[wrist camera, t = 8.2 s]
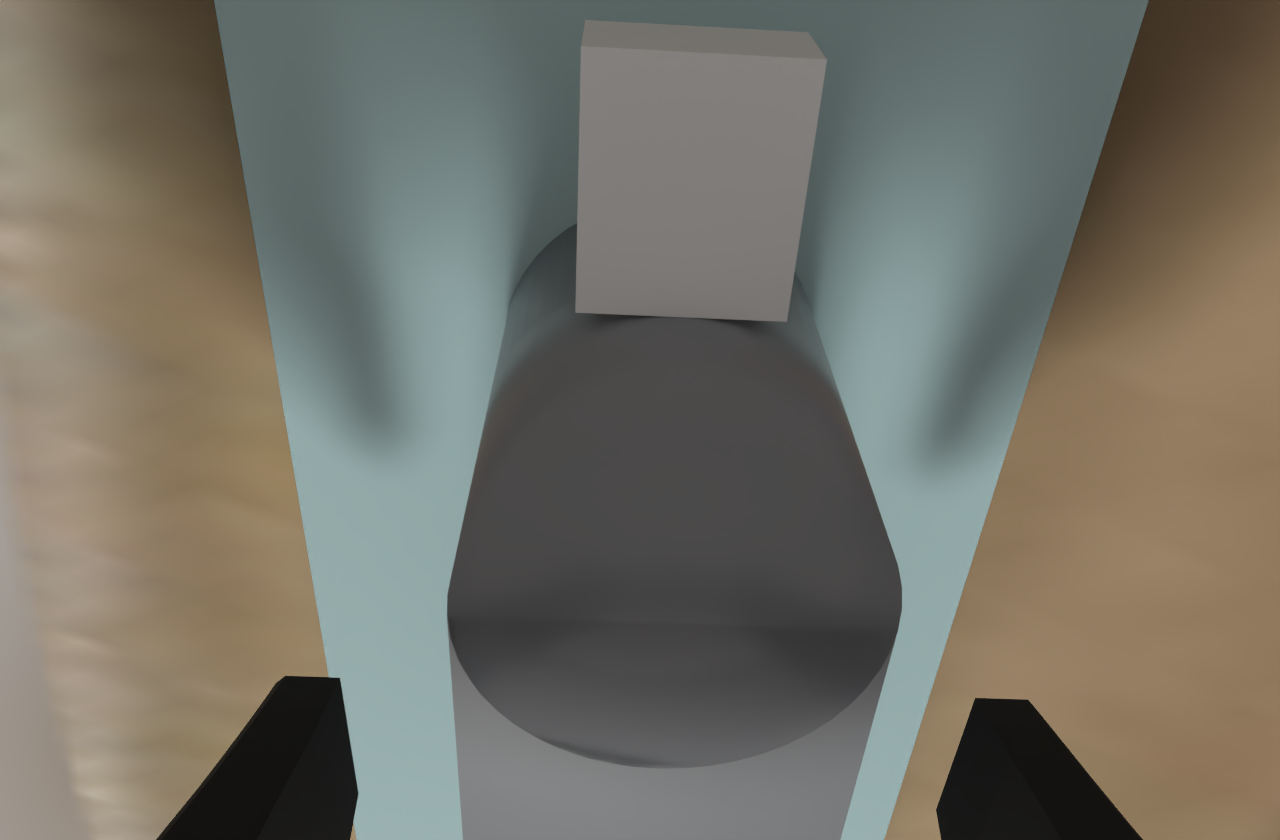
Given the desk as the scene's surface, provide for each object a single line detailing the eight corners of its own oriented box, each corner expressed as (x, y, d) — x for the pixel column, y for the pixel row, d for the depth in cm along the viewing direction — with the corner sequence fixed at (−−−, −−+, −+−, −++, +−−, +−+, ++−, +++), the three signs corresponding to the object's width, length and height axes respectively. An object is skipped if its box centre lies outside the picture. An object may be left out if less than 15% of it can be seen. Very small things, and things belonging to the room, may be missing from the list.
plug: (742, 750, 17) (780, 1060, 13) (514, 744, 17) (478, 1056, 13) (872, -5, 11) (1031, 143, 6) (496, -27, 10) (410, 111, 6)
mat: (862, 859, 20) (868, 887, 20) (369, 849, 20) (363, 876, 19) (1168, -155, 10) (1196, -151, 10) (199, -217, 10) (177, -216, 9)
